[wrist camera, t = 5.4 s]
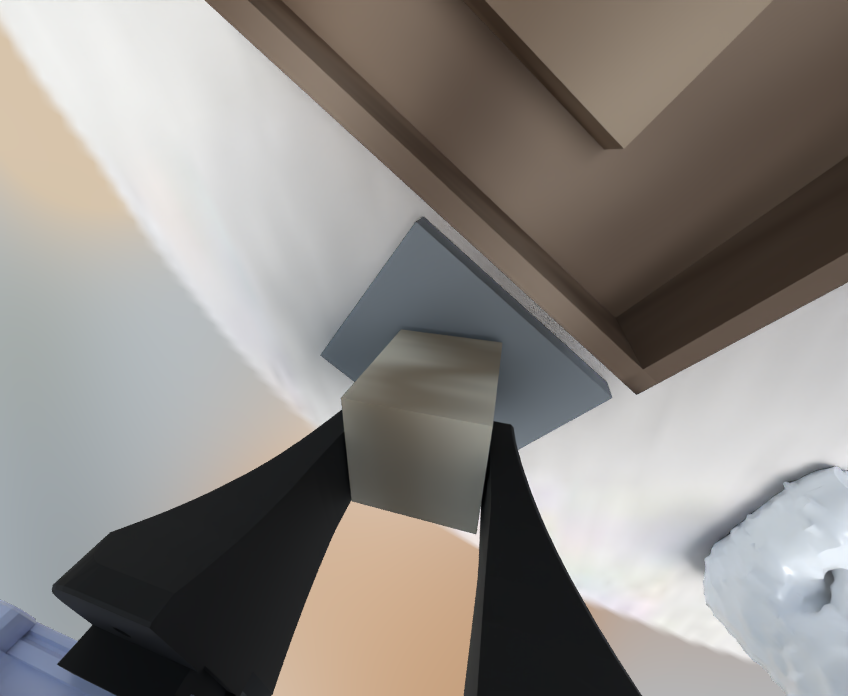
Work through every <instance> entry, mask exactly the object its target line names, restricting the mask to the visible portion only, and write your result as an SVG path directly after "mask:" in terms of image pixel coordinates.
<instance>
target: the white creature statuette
mask: <svg viewBox="0 0 848 696" xmlns="http://www.w3.org/2000/svg"><path fill="white" fill-rule="evenodd" d="M783 485H784V488H785V489H784V490H783V491H782V492H780V493H779V494H777V495H775V496H774V497H773V498H771V499H770V500H769V501H768V502H766V503H765V504H764V505H762V506H761V507H760V508H758V509H757V510H756V511H755V512H754V513H752V514H749V515H747V517H746V519H745V520H744V521H743V522H742V523H740V524H739V525H737V526H736V527H735V528H733V529H732V530H731V531H730V534H729V535H727V536H726V537H724V538H723V539H721V540H720V541H718V542H717V543H715V544H714V546H713V547H712V549H711V553H710V555H709V556H708V557H706V558H705V567H706V568H705V573H704V577H705V578H704V580H703V585H704V595H705V600H706V605H707V606H708V607H709V608H710V609H711V610H712V612H713V616H715V617H716V618H717V619H718V620H719V621H720V622H721V623H722V624H723V625H724V626H725V628H726V629H727V631H728V633H729V634H730V635H732V636H733V637H734V638H735V639H736V640H737V642H738V643H739V644H740V645H741V647H742V648H743V650H744V651H745V652H746V654H747V655H748V656H749V657H750V658H751V659H752V660H753V661H754V662H756V663H758V664H759V665H761V666H762V668H763V669H764V670H765V671H766V672H768V673H769V674H770V677H771V679H772V680H773V681H774V682H775V683H776V684H777V685H778V686H779V687H781V689H782V690H783V692H784V694H785V695H786V696H848V470H847V471H842V470H841V469H840V468H839V467H836V466H834V467H831V468H828V469H821V470H817V471H814V472H812V473H810V474H808V475H806V476H804V477H803V478H801V479H798V480H796V481H793V482H791V483H789V482H784V483H783Z"/></svg>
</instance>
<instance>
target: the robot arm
mask: <svg viewBox="0 0 848 696" xmlns="http://www.w3.org/2000/svg"><path fill="white" fill-rule="evenodd" d="M351 500H352V499H351V489H350V480H349V470H348V461H347V451H346V442H345V432H344V422H343V413H342V410H341V411H339V412H338V413H337V414H336V415H334V416H333V417H332V418H330V419H329V420H328V421H326V422H325V423H324V424H322V425H321V426H320V427H318V428H317V429H316V430H314V431H313V432H312V433H310V434H309V435H307V436H306V437H305V438H303V439H302V440H301V441H299V442H297V443H296V444H294V445H293V446H292V447H290V448H288V449H287V450H285V451H284V452H283V453H281V454H279V455H278V456H276V457H275V458H273V459H272V460H270V461H268V462H266V463H264V464H263V465H261V466H259V467H258V468H256V469H254V470H252V471H250V472H249V473H247V474H245V475H243V476H241V477H239V478H237V479H235V480H233V481H231V482H229V483H227V484H225V485H223V486H222V487H220V488H217V489H215V490H213V491H211V492H209V493H207V494H205V495H203V496H201V497H198V498H196V499H194V500H192V501H189V502H187V503H185V504H182V505H181V506H178V507H175V508H173V509H171V510H168V511H166V512H163V513H161V514H158V515H156V516H153V517H150V518H148V519H145V520H143V521H140V522H137V523H135V524H132V525H129V526H127V527H124V528H121V529H118V530H116V531H113V532H110V533H109V534H108V535H107V536H106V537H105V538H104V539H103V540H101V541H100V542H99V543H98V544H97V545H96V546H95V547H94V548H93V549H92V550H91V551H89V553H87V554H86V555H85V556H84V557H83V558H82V559H81V560H80V561H78V562H77V564H75V565H74V566H73V567H72V568H71V569H70V570H69V571H68V572H66V573H65V574H64V575H63V576H62V577H61V578H60V579H59V580H58V581H57V582H56V583H55V584H53V587H52V592H53V594H54V595H55V596H56V597H57V598H58V599H59V600H61V601H62V602H63V603H64V604H66V605H67V606H68V607H70V608H71V609H72V610H74V611H75V612H76V613H78V614H79V615H80V616H82V617H83V618H84V619H86V620H87V621H88V622H90V623H91V624H92V626H91V627H90V629H89V630H88V631H87V632H86V633H85V634H84V635H83V636H82V637H81V639H80V640H79V641H77V640H74V639H72V638H70V637H68V636H66V635H64V634H62V633H60V632H57V631H55V630H53V629H51V628H49V627H47V626H45V625H42V624H40V623H38V622H36V619H35V618H34V617H32V616H31V615H29V614H28V613H26V612H24V611H23V610H21V609H19V608H17V607H16V606H14V605H12V604H10V603H8V602H5V601H3V600H1V599H0V696H271V695H272V694H273V691H274V688H275V685H276V682H277V679H278V676H279V674H280V671H281V668H282V665H283V662H284V659H285V657H286V653H287V651H288V648H289V645H290V642H291V639H292V637H293V634H294V631H295V629H296V626H297V623H298V621H299V618H300V615H301V612H302V610H303V607H304V604H305V602H306V599H307V597H308V594H309V592H310V589H311V587H312V584H313V582H314V579H315V577H316V574H317V572H318V569H319V567H320V565H321V562H322V560H323V557H324V555H325V553H326V550H327V548H328V546H329V543H330V541H331V538H332V536H333V534H334V532H335V530H336V528H337V526H338V524H339V522H340V520H341V518H342V516H343V515H344V513H345V511H346V509H347V507H348V505H349V503H350V501H351ZM464 696H642V695H641V694H640V692H639V690H638V689H637V687H636V686H635V684H634V683H633V682H632V680H631V678H630V677H629V675H628V674H627V672H626V670H625V669H624V667H623V666H622V664H621V663H620V661H619V660H618V658H617V656H616V655H615V653H614V651H613V650H612V648H611V647H610V645H609V643H608V642H607V640H606V638H605V637H604V635H603V634H602V632H601V630H600V629H599V627H598V625H597V624H596V622H595V620H594V618H593V617H592V615H591V613H590V611H589V610H588V608H587V606H586V604H585V603H584V601H583V599H582V597H581V596H580V594H579V592H578V590H577V588H576V587H575V585H574V583H573V581H572V580H571V578H570V576H569V574H568V572H567V570H566V568H565V566H564V564H563V562H562V560H561V558H560V556H559V555H558V553H557V550H556V548H555V546H554V544H553V542H552V540H551V538H550V536H549V534H548V531H547V529H546V527H545V525H544V522H543V520H542V518H541V515H540V513H539V511H538V508H537V506H536V503H535V501H534V498H533V495H532V493H531V490H530V487H529V484H528V481H527V478H526V476H525V473H524V470H523V466H522V463H521V460H520V456H519V452H518V448H517V444H516V439H515V433H514V427H513V426H512V425H511V424H506V423H501V422H496V421H493V428H492V434H491V441H490V447H489V454H488V461H487V467H486V474H485V480H484V487H483V493H482V500H481V518H480V544H479V567H478V581H477V589H476V597H475V606H474V615H473V623H472V631H471V639H470V648H469V656H468V664H467V673H466V681H465V689H464Z"/></svg>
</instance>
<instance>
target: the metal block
mask: <svg viewBox="0 0 848 696" xmlns="http://www.w3.org/2000/svg"><path fill="white" fill-rule="evenodd" d="M501 351H502V343H501V342H494V341H486V340H479V339H471V338H463V337H456V336H448V335H440V334H433V333H425V332H417V331H410V330H402V329H401V330H400V331H399V332H398V334H397V335H396V336H395V337H394V338H393V339H392V340H391V342H390V343H389V344H388V345H387V346H386V347H385V348H384V350H383V351H382V352H381V353H380V354H379V355H378V356H377V357H376V359H375V360H374V361H373V362H372V363H371V364H370V365H369V367H368V368H367V369H366V370H365V371H364V372H363V373H362V375H361V376H360V377H359V378H358V379H357V380H356V381H355V382H354V384H353V385H352V386H351V387H350V388H349V389H348V390H347V392H346V393H345V394H344V395H343V396H342V397H341V403H342V413H343V422H344V432H345V442H346V451H347V461H348V470H349V480H350V489H351V499H352V501H353V502H357V503H360V504H364V505H368V506H372V507H376V508H380V509H383V510H387V511H390V512H394V513H398V514H402V515H406V516H409V517H413V518H417V519H421V520H424V521H428V522H432V523H436V524H439V525H443V526H447V527H451V528H454V529H458V530H462V531H466V532H469V533H473V534H476V533H477V526H478V520H479V513H480V507H481V500H482V493H483V487H484V480H485V474H486V467H487V461H488V454H489V447H490V441H491V434H492V428H493V419H494V411H495V402H496V394H497V385H498V376H499V368H500V359H501Z"/></svg>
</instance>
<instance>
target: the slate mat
mask: <svg viewBox="0 0 848 696" xmlns="http://www.w3.org/2000/svg"><path fill="white" fill-rule="evenodd" d="M401 329H402V330H410V331H417V332H425V333H433V334H440V335H448V336H456V337H463V338H471V339H479V340H486V341H494V342H501V343H502V351H501V359H500V368H499V376H498V385H497V394H496V402H495V411H494V419H493V421H496V422H501V423H506V424H511V425H512V426H513V427H514V433H515V439H516V444H517V448H518V450H519V449H520V448H522V447H524V446H526V445H528V444H529V443H531V442H533V441H535V440H537V439H539V438H540V437H542V436H544V435H546V434H548V433H549V432H551V431H553V430H555V429H557V428H558V427H560V426H562V425H564V424H566V423H568V422H569V421H571V420H573V419H575V418H577V417H578V416H580V415H582V414H584V413H586V412H587V411H589V410H591V409H593V408H595V407H597V406H598V405H600V404H602V403H604V402H606V401H607V400H609V399H611V398H612V396H611V393H610V390H609V387H608V384H607V382H606V381H605V380H604V379H602V378H601V377H600V376H599V375H598V374H597V373H596V372H595V371H594V370H592V369H591V368H590V367H589V366H588V365H587V364H586V363H585V362H584V361H583V360H581V359H580V358H579V357H578V356H577V355H576V354H575V353H574V352H573V351H571V350H570V349H569V348H568V347H567V346H566V345H565V344H564V343H563V342H562V341H560V340H559V339H558V338H557V337H556V336H555V335H554V334H553V333H552V332H550V331H549V330H548V329H547V328H546V327H545V326H544V325H543V324H542V323H541V322H539V321H538V320H537V319H536V318H535V317H534V316H533V315H532V314H531V313H529V312H528V311H527V310H526V309H525V308H524V307H523V306H522V305H521V304H519V303H518V302H517V301H516V300H515V299H514V298H513V297H512V296H511V295H510V294H508V293H507V292H506V291H505V290H504V289H503V288H502V287H501V286H500V285H498V284H497V283H496V282H495V281H494V280H493V279H492V278H491V277H490V276H489V275H487V274H486V273H485V272H484V271H483V270H482V269H481V268H480V267H479V266H477V265H476V264H475V263H474V262H473V261H472V260H471V259H470V258H469V257H468V256H466V255H465V254H464V253H463V252H462V251H461V250H460V249H459V248H458V247H456V246H455V245H454V244H453V243H452V242H451V241H450V240H449V239H448V238H446V237H445V236H444V235H443V234H442V233H441V232H440V231H439V230H438V229H437V228H435V227H434V226H433V225H432V224H431V223H430V222H429V221H428V220H427V219H425V218H424V217H422V218H421V219H419V220H418V221H416V222H415V224H414V225H413V226H412V228H411V229H410V231H409V232H408V233H407V235H406V236H405V238H404V239H403V240H402V242H401V243H400V245H399V246H398V247H397V249H396V250H395V252H394V253H393V254H392V256H391V257H390V259H389V260H388V261H387V263H386V264H385V266H384V267H383V268H382V270H381V271H380V272H379V274H378V275H377V277H376V278H375V279H374V281H373V282H372V284H371V285H370V286H369V288H368V289H367V291H366V292H365V293H364V295H363V296H362V298H361V299H360V300H359V302H358V303H357V305H356V306H355V307H354V309H353V310H352V312H351V313H350V314H349V316H348V317H347V319H346V320H345V321H344V323H343V324H342V326H341V327H340V328H339V330H338V331H337V333H336V334H335V335H334V337H333V338H332V340H331V341H330V342H329V344H328V345H327V347H326V348H325V349H324V351H323V352H322V354H321V356H322V357H323V358H324V359H326V360H327V361H328V362H330V363H331V364H332V365H333V366H335V367H336V368H337V369H339V370H340V371H341V372H342V373H344V374H345V375H346V376H348V377H349V378H350V379H351V380H353V381H354V382H355V381H356V380H357V379H358V378H359V377H360V376H361V375H362V373H363V372H364V371H365V370H366V369H367V368H368V367H369V365H370V364H371V363H372V362H373V361H374V360H375V359H376V357H377V356H378V355H379V354H380V353H381V352H382V351H383V350H384V348H385V347H386V346H387V345H388V344H389V343H390V342H391V340H392V339H393V338H394V337H395V336H396V335H397V334H398V332H399V331H400V330H401Z"/></svg>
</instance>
